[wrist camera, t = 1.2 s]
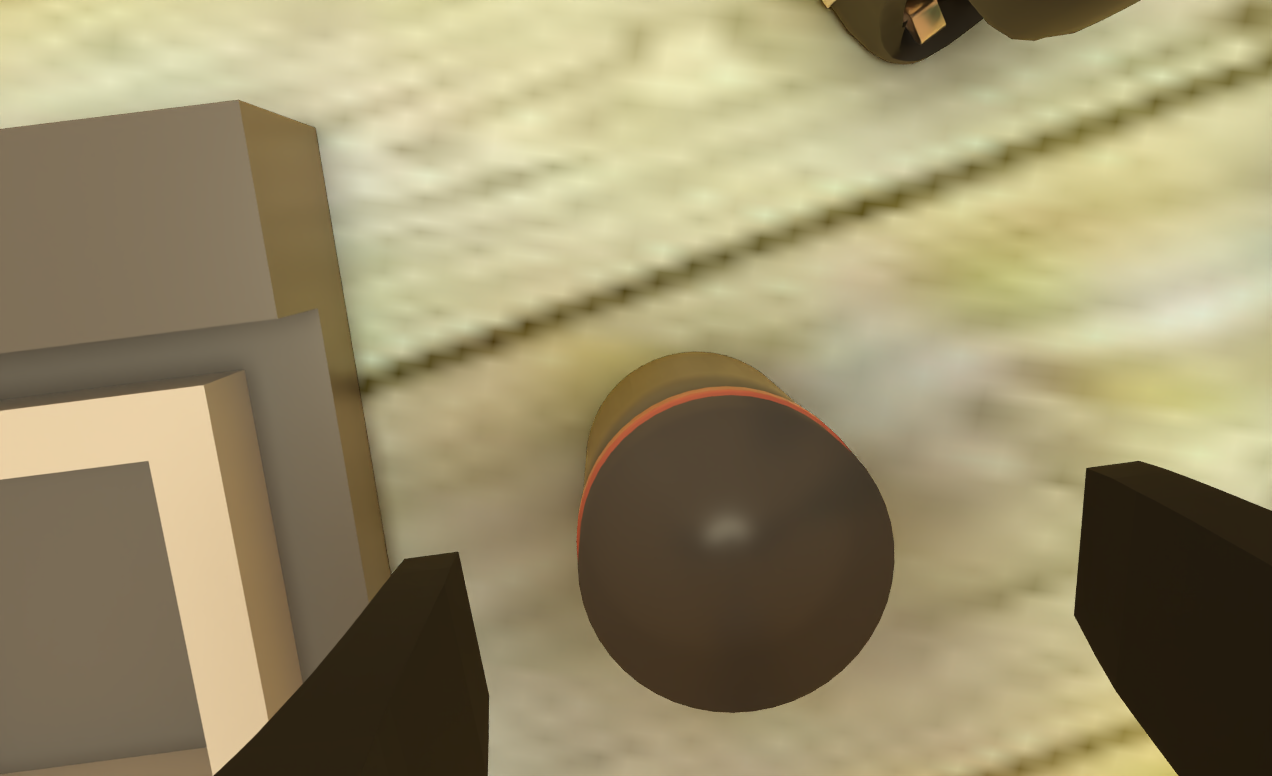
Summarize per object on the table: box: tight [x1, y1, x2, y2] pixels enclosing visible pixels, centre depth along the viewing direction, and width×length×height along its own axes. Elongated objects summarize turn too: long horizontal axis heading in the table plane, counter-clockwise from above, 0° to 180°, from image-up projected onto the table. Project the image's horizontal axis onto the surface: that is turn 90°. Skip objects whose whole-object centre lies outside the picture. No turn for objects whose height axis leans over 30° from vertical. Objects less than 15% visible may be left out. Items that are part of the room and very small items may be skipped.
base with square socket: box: [0, 100, 391, 776], centre depth 20 cm, size 18×12×4 cm, turn 7°
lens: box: [576, 352, 894, 713], centre depth 19 cm, size 5×5×7 cm
